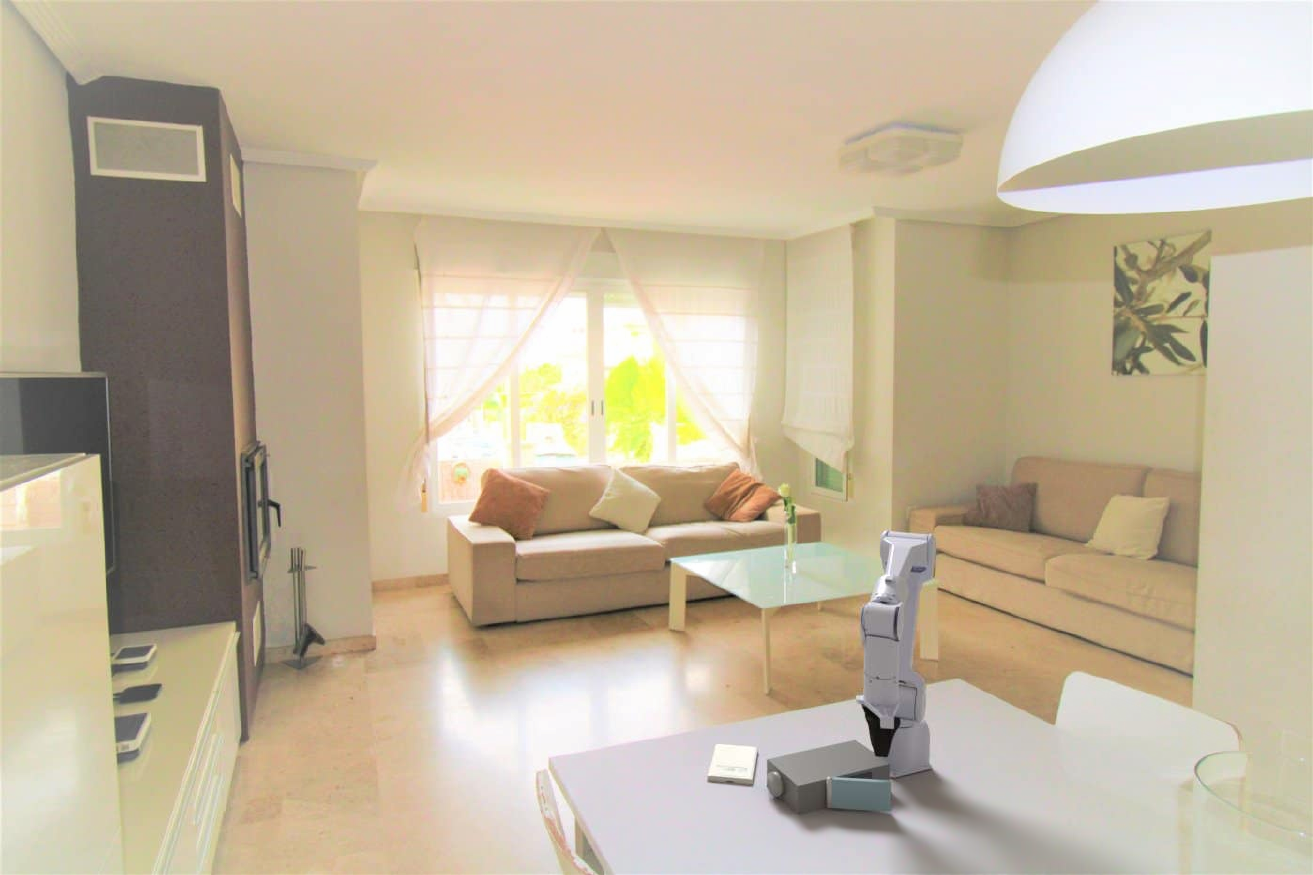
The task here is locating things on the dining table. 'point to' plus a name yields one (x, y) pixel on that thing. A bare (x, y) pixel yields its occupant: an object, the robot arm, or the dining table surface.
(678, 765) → the dining table surface
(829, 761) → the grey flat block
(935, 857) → the dining table surface
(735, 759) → the external hard drive
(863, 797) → the side door
